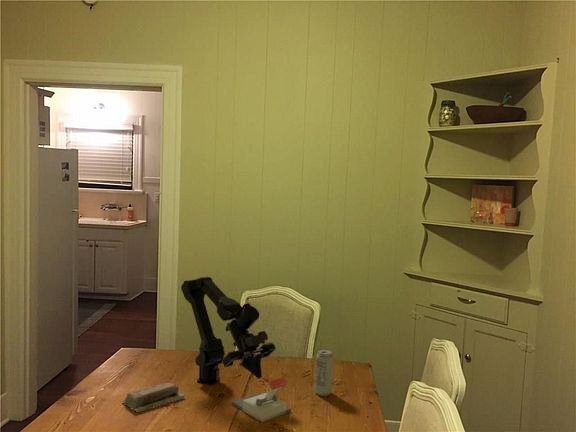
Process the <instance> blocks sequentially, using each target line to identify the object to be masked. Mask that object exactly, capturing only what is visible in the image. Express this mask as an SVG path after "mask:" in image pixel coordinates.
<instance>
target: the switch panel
mask: <svg viewBox="0 0 576 432" xmlns="http://www.w3.org/2000/svg"><path fill="white" fill-rule="evenodd" d="M267 393H268V392H264V393H261V392H257V393H254V394H251V395H248V396H244V397H242V398H239V399H235V400H232V401H231V405H232V406H234V407H235V408H237V409H239V410H240V411H242V412H244V413H246V414H248V415H249V416H251V417H253V418H255V420H258V421H260V422H262V423H263V422H266V421H269V420H272V419H275V418H277V417H280V416H282V415H286V414H288V413H291V412H292V411H291V410H292V409H291V408H290V407H288V404H287V402H286V401H284V400H282V399H279V398H278V395H277V394H276V393H275V394H274V395H273V396H274V399H273V400H270V401H267V402H264V403H262V400H261V399H264V398H265V396H266V395H267Z"/></svg>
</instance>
